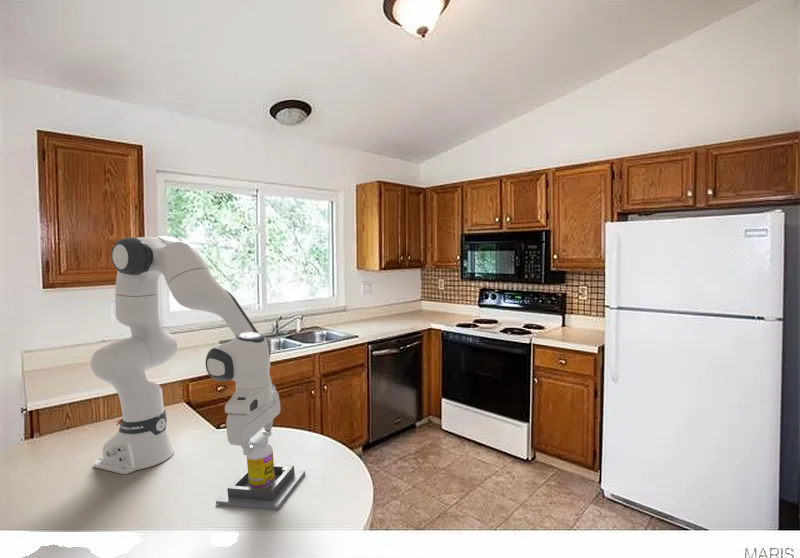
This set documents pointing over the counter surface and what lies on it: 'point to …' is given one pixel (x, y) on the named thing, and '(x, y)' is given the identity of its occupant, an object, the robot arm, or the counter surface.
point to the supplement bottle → (260, 463)
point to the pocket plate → (262, 490)
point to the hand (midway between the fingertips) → (258, 444)
